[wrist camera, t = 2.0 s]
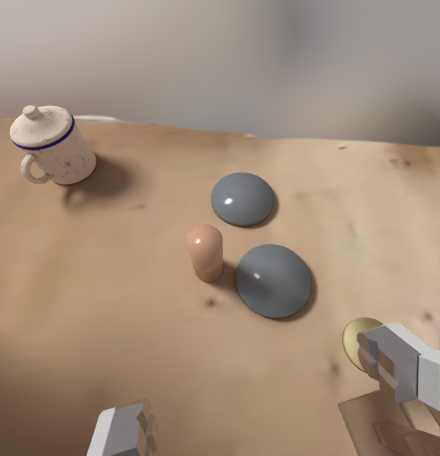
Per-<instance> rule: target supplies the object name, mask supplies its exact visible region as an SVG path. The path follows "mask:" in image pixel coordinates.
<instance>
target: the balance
mask: <svg viewBox="0 0 440 456" xmlns="http://www.w3.org/2000/svg"><path fill="white" fill-rule="evenodd" d="M381 325H384V324H382V323H381V322H379V321H377V320H375V319H372V318H358V319H355V320H353V321H351V322H350V323H349V324H348V325H347V326H346V327H345V329H344V332H343V337H342V342H343V347H344V350H345V353H346V355H347V357H348V358H349V360H350V361H351V362H352V363H353V364H354V365H355V366H356V367H357V368H358V369H360V370H361V371H363V372H365V370H364V369H363V367H362V366H361V363H360V361H359V359H358V352H357V351H358V349H359V347H360V344H359V343H358V342H357V334H358V333H359V332H362V331H365V330H368V329H371V328H374V327H377V326H381ZM365 373H366V372H365ZM425 405H426V406H427V408H428V410H429V411H430V413H431V414H432V416H433V417H434V419H435V420H436V422H437V423H438V425H439V426H440V411H438V410H437V409H435V408H433V407H431V406H429V405H427V404H426V403H425ZM338 406H339V409H340V411H341V414H342V416H343V419H344V421H345V423H346V426H347V428H348V431H349V433H350V436H351V438H352V441H353V443H354V446H355V448H356V450H357V453H358V455H359V456H440V437H438V436H435V435H432V434H429V433H426V432H423V431H420V430H417V429H414V428H411V426H410V424H409V422H408V420H407V418H406V416H405V414H404V412H403V410H402V408H401V406H400V404H396V405H395V404H394V403H393V402H392V401H391V400H390V399H389V398H388V397H387V395H386V394H385V393H384V392H383V391H382V390H378V391H375V392H372V393H369V394H366V395H363V396H360V397H357V398H354V399H351V400H348V401H345V402H342V403H339V404H338Z"/></svg>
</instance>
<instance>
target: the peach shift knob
mask: <svg viewBox="0 0 440 456" xmlns="http://www.w3.org/2000/svg"><path fill="white" fill-rule="evenodd" d="M186 245H187V248H188V251H189V254H190V257H191V260H192V264H193V267H194V270H195V273H196V275H197V277H198V278H199V279H200V280H202V281H205V282H212V281H215V280H217V279H218V278H219V277H220V276H221V274H222V272H223V245H222V235H221V233H220V231H219V230H218V229H217V228H215V227H214V226H211V225H199V226H196V227H194V228H193V229H192V230H191V231H190V232H189V233H188V235H187V238H186Z"/></svg>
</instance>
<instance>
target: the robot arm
mask: <svg viewBox="0 0 440 456" xmlns="http://www.w3.org/2000/svg"><path fill="white" fill-rule="evenodd" d="M357 342H358V343H359V344H360V347H359V349H358V351H357V352H358V359H359V361H360V363H361V366H362V367H363V369H364V370H365V372H366V373H367V374H368V375H369V376H370V377H371V378H373V379H375V380H377V381H379V387H380V389H381V390H382V391H383V392H384V393H385V394H386V395H387V397H388V398H389V399H390V400H391V401H392V402H393V403H394V404H395V405H396V404H399V403H402V402H405V401H409V400H412V399H415V398H418V400H420V401H422V402H424V403H426V404H427V405H429V406H431V407H433V408H435V409H437V410H438V411H440V349H439V350H435V349H434V348H432V347H431V346H430V345H428V344H427V343H426V342H424V341H423V340H421V339H420V338H419V337H417V336H416V335H414V334H413V333H412V332H410V331H409V330H408V329H406V328H405V327H403V326H402V325H401V324H399V323H398V322H395V321H393V322H390V323H387V324H384V325H381V326H377V327H374V328H371V329H368V330H365V331H362V332H359V333H358V334H357ZM149 412H150V404H149V402H148V400H147V399H142V400H138V401H135V402H131V403H128V404H124V405H120V406H117V407H114V408H111V409H107V410H104V411H102V413H101V414H100V416H99V418H98V421H97V424H96V428H95V431H94V434H93V437H92V440H91V443H90V447H89V450H88V453H87V456H153V454H154V452H155V450H156V449H157V443H158V433H157V424H156V420H155V417H154V415H153V414H151V413H149Z"/></svg>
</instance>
